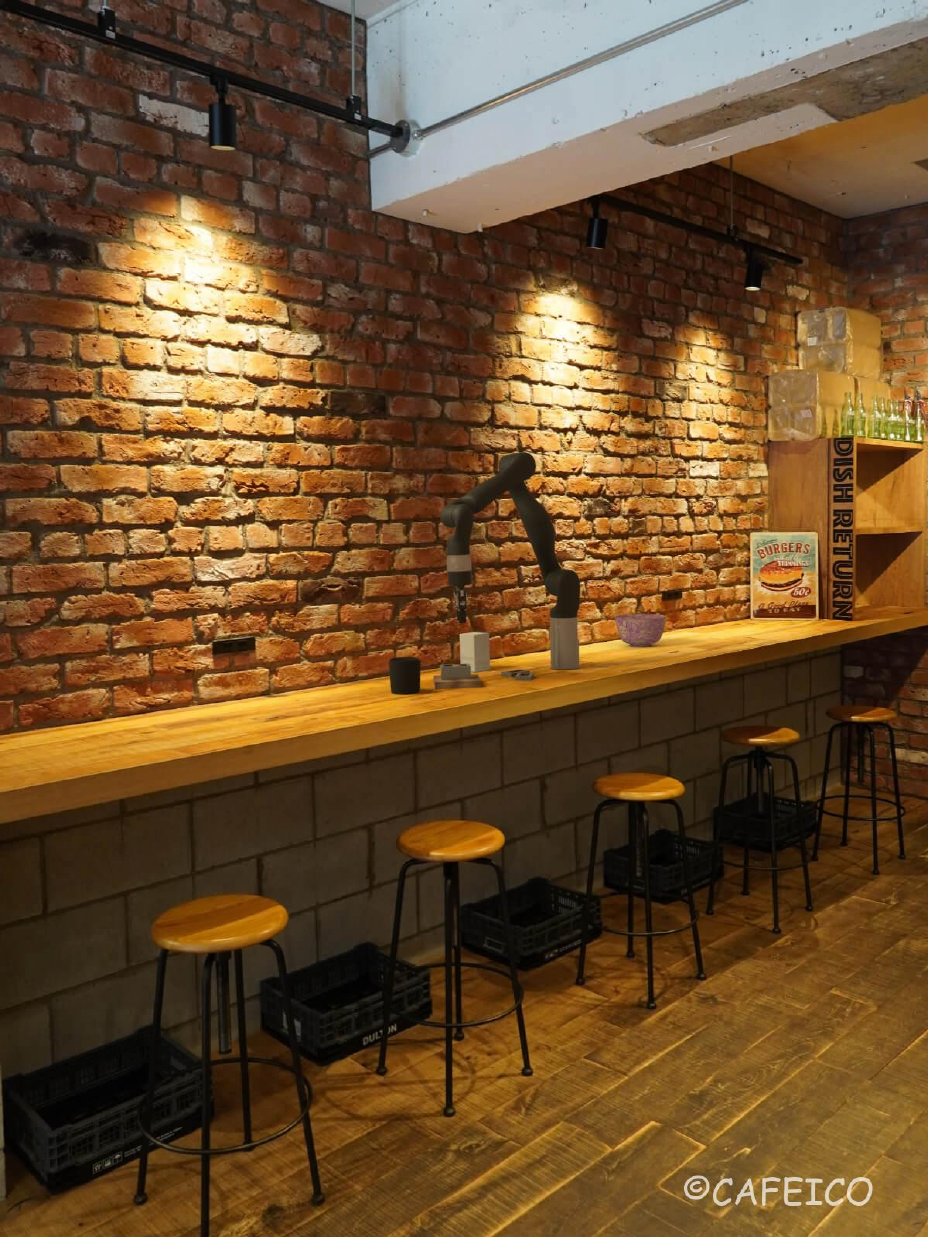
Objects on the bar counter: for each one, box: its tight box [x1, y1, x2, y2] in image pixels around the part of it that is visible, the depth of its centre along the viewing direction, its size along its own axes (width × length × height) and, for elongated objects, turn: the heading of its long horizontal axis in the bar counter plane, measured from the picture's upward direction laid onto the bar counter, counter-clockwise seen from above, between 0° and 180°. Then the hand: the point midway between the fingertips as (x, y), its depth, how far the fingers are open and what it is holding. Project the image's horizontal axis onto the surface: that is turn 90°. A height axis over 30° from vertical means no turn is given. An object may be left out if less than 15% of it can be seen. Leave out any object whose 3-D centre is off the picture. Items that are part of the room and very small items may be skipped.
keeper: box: [432, 665, 483, 690], centre depth 322 cm, size 14×14×6 cm
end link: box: [439, 663, 472, 680], centre depth 322 cm, size 9×6×4 cm, turn 94°
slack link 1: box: [500, 668, 531, 678], centre depth 339 cm, size 8×5×1 cm, turn 129°
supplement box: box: [459, 631, 491, 673], centre depth 352 cm, size 7×7×13 cm
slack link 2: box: [514, 672, 535, 681], centre depth 331 cm, size 8×5×1 cm, turn 169°
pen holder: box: [388, 656, 422, 695], centre depth 310 cm, size 9×9×10 cm
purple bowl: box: [614, 613, 667, 648], centre depth 408 cm, size 20×20×12 cm
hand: (461, 621), depth 323 cm, fingers open, 8 cm apart
